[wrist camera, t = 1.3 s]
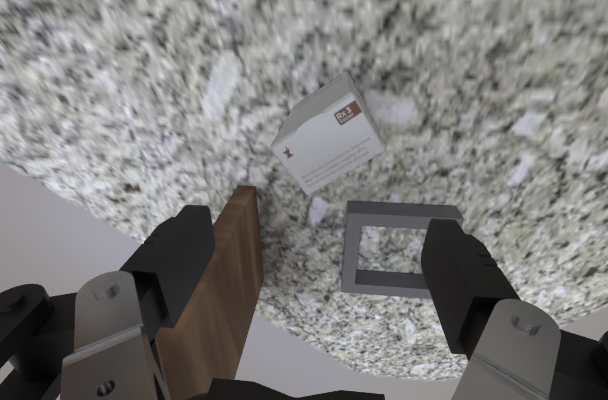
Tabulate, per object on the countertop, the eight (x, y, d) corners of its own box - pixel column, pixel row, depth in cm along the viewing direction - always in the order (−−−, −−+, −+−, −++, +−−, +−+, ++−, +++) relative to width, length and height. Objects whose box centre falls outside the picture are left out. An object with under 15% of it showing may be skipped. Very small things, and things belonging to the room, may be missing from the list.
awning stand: (291, 184, 33) (191, 520, 11) (293, 283, 41) (237, 604, 18) (237, 181, 34) (35, 498, 11) (249, 280, 41) (142, 588, 19)
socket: (455, 206, 33) (463, 218, 31) (432, 283, 39) (438, 299, 36) (347, 200, 34) (348, 212, 32) (341, 277, 39) (341, 292, 37)
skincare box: (317, 142, 31) (306, 203, 20) (291, 104, 29) (264, 150, 19) (372, 107, 28) (391, 156, 18) (347, 64, 27) (352, 90, 16)
